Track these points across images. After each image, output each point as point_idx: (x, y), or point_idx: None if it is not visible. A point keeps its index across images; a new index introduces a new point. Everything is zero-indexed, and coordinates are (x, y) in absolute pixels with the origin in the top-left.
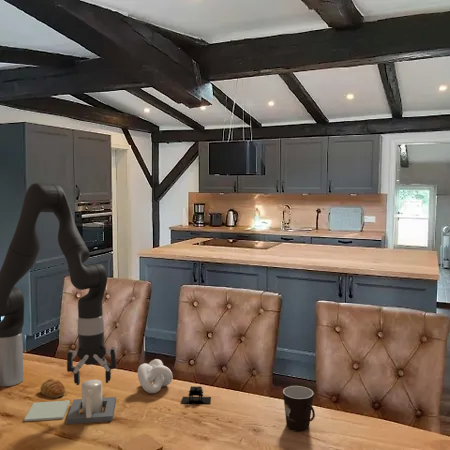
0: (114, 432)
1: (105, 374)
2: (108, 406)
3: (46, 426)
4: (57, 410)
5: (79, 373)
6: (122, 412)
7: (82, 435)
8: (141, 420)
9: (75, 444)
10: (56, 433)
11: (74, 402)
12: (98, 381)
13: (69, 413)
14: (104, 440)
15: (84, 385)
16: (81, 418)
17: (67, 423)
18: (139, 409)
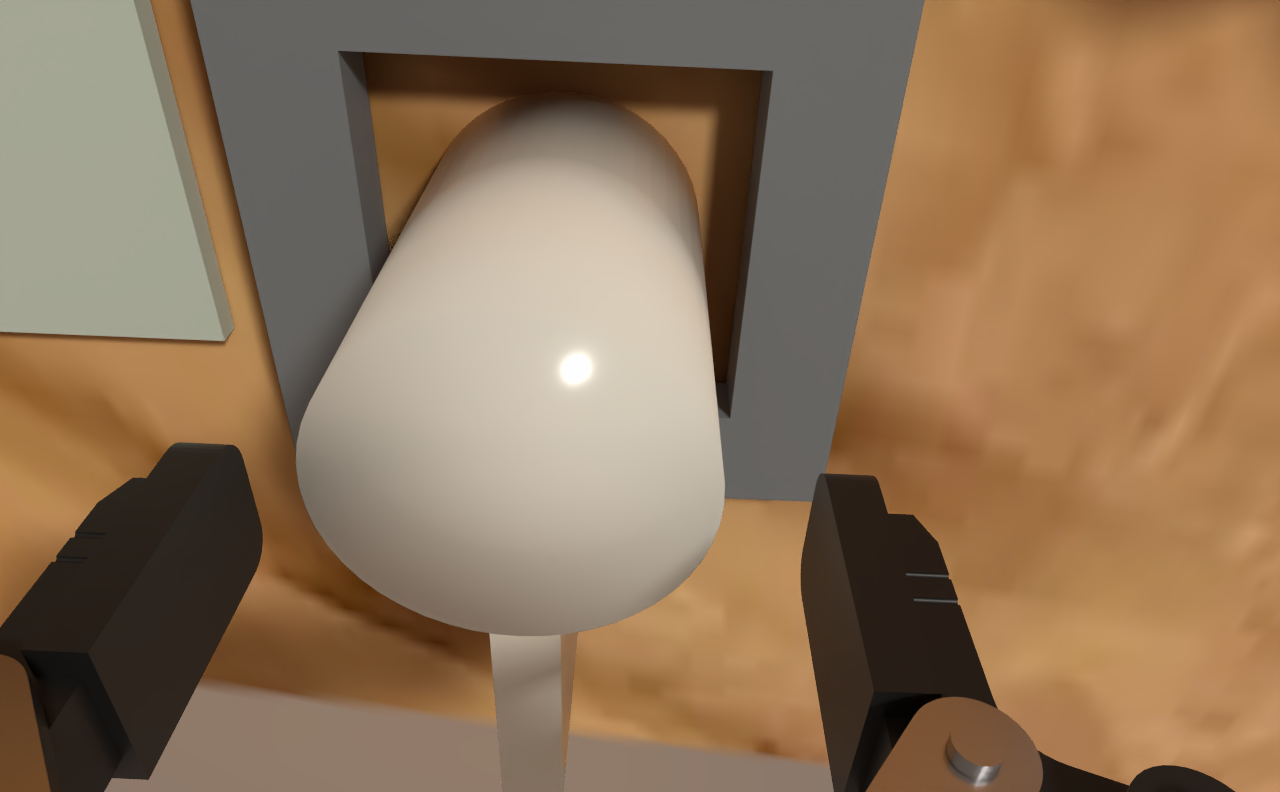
0: None
1: (828, 744)
2: (785, 274)
3: (119, 446)
4: (53, 151)
5: (130, 616)
6: (950, 301)
7: None
8: (1110, 500)
9: None
10: (288, 569)
11: (226, 27)
12: (643, 431)
13: (288, 367)
14: (726, 706)
15: (379, 546)
16: None
17: None
18: (1184, 263)
